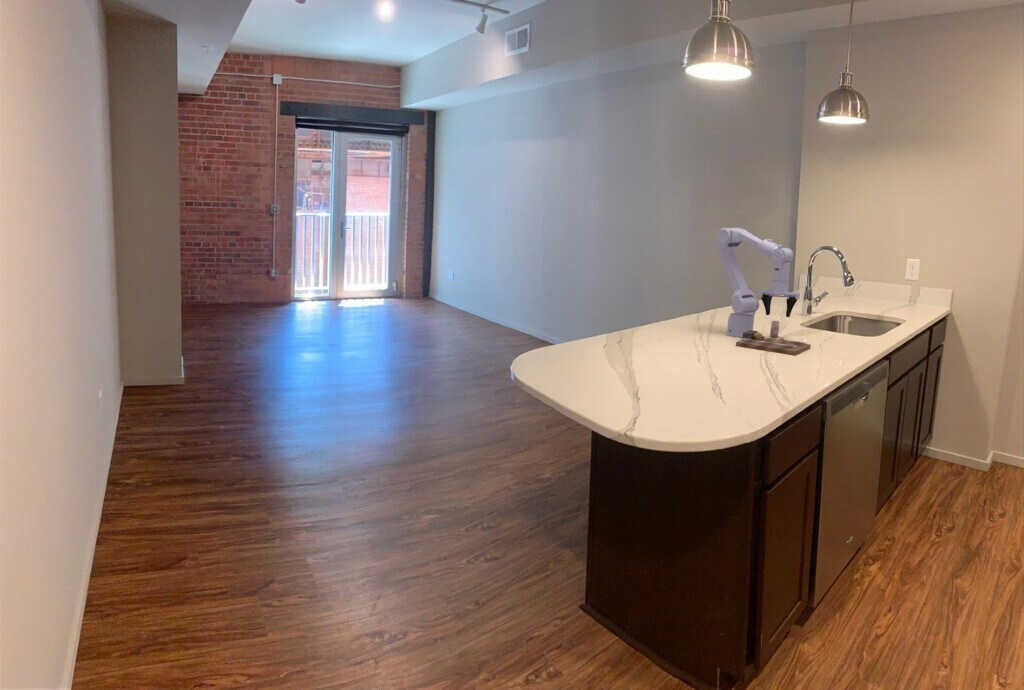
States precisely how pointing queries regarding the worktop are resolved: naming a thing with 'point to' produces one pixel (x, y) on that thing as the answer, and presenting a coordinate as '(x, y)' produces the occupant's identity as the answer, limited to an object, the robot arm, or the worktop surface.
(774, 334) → the press ram
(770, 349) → the board
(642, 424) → the worktop surface
